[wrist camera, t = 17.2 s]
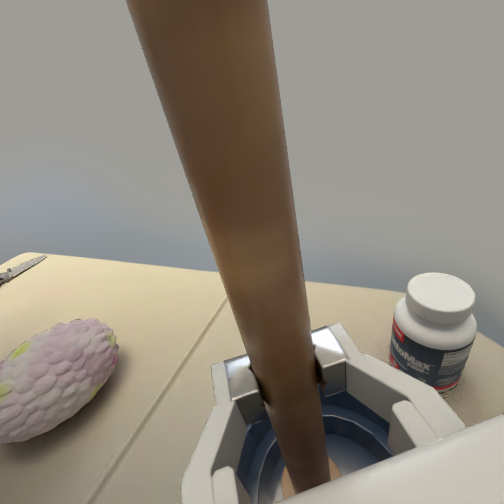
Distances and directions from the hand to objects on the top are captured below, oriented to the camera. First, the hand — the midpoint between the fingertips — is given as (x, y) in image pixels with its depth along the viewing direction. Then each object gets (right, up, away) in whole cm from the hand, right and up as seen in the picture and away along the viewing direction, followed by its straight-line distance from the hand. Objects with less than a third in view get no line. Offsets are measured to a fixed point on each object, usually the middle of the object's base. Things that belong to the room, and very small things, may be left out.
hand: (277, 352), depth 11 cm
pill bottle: (+14, -6, +13) cm, 20 cm away
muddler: (+3, -11, +6) cm, 13 cm away
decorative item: (-20, -11, +18) cm, 29 cm away
